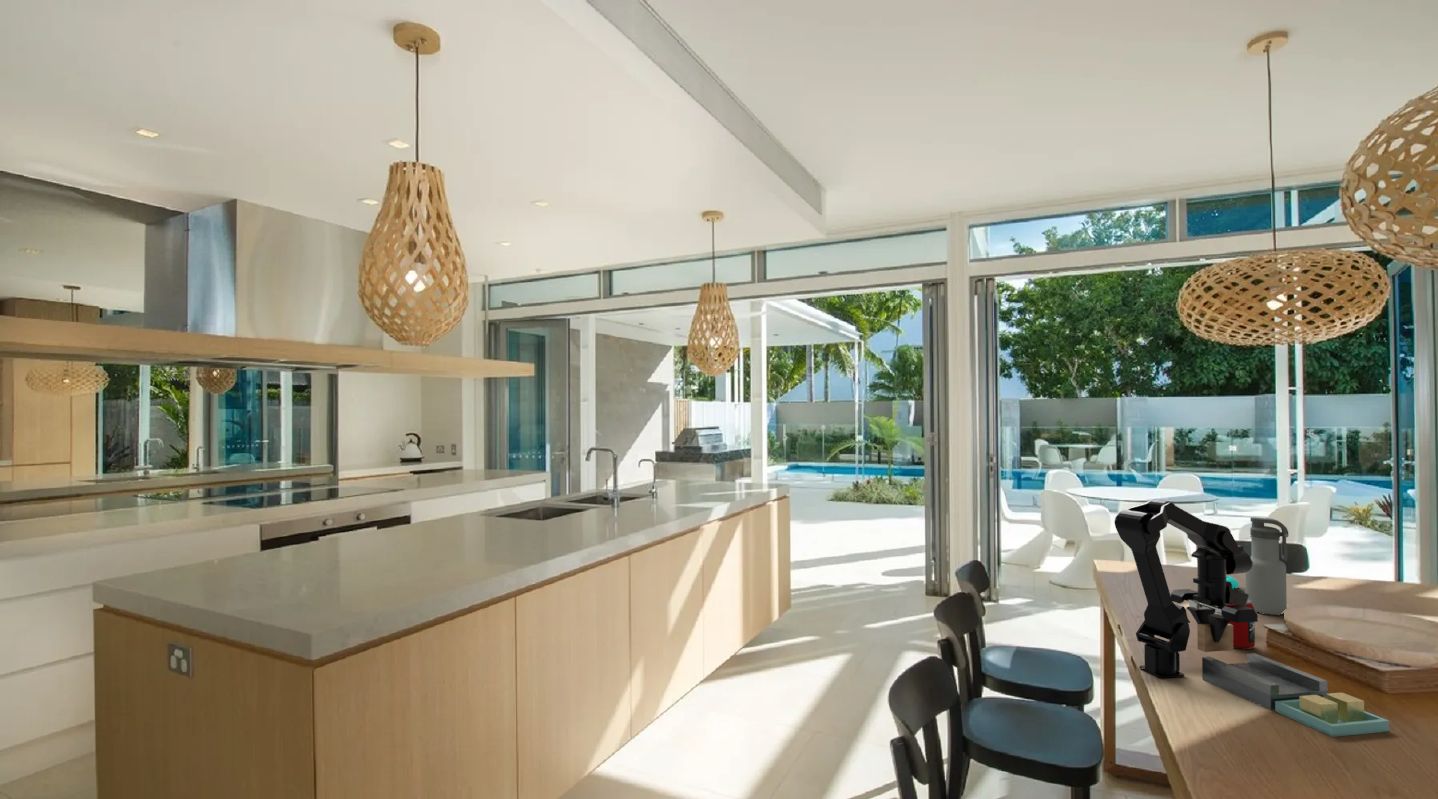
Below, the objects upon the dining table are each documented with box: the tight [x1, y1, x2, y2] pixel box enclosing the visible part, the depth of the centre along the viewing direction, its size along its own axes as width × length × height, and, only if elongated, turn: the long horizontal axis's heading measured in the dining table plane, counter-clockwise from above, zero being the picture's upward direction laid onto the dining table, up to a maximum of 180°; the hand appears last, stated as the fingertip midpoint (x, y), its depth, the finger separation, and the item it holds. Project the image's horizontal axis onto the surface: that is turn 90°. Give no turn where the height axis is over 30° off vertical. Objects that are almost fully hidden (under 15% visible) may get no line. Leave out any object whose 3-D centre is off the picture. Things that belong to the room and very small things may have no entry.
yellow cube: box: [1325, 692, 1365, 723], centre depth 134 cm, size 4×4×4 cm
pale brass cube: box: [1299, 695, 1338, 724], centre depth 133 cm, size 4×4×4 cm
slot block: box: [1201, 652, 1329, 711], centre depth 147 cm, size 14×16×5 cm
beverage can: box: [1226, 600, 1256, 650], centre depth 176 cm, size 7×7×12 cm
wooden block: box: [1196, 623, 1234, 653], centre depth 164 cm, size 8×2×6 cm, turn 100°
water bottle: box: [1244, 516, 1289, 616], centre depth 206 cm, size 10×10×28 cm
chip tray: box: [1274, 697, 1390, 738], centre depth 134 cm, size 13×11×2 cm
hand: (1212, 640), depth 164 cm, fingers closed on wooden block, 2 cm apart
